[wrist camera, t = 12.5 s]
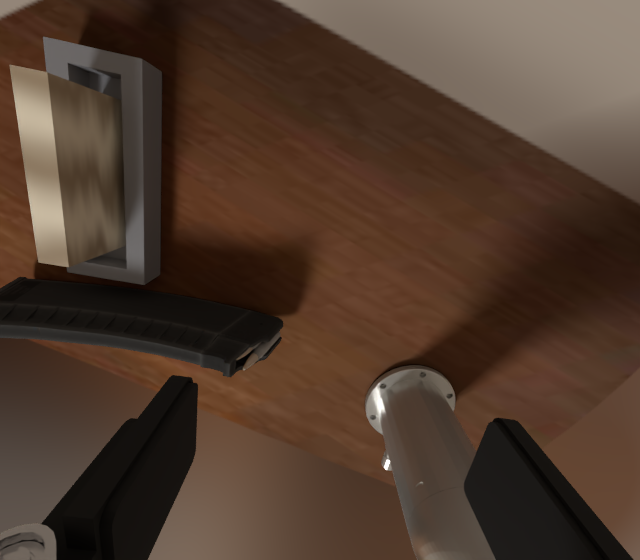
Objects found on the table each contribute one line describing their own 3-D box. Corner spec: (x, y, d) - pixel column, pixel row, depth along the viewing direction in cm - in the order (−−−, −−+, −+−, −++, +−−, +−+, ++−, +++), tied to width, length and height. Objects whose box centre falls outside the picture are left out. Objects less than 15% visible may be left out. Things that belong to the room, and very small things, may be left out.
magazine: (-79, 331, 28) (198, 445, 21) (-89, 300, 26) (199, 410, 20) (98, 280, 43) (286, 336, 37) (96, 258, 42) (290, 313, 36)
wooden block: (132, 243, 33) (68, 267, 25) (107, 239, 33) (35, 262, 24) (127, 102, 28) (47, 72, 20) (99, 96, 28) (6, 63, 20)
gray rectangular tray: (160, 274, 35) (143, 285, 32) (90, 262, 35) (66, 272, 31) (162, 72, 28) (141, 58, 25) (75, 52, 28) (41, 35, 24)
